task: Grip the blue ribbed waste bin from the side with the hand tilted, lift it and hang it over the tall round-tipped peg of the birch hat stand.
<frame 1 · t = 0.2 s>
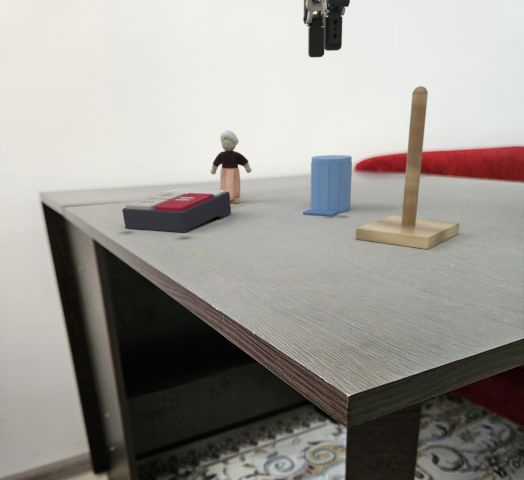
hand: (323, 53, 72), 23 cm above the table, tool pointing down, fingers open, 8 cm apart
hat stand: (407, 236, 70), on the table
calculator: (180, 222, 84), on the table
grandmother figurine: (232, 203, 100), on the table
blue ribbed waste bin: (330, 209, 90), on the table
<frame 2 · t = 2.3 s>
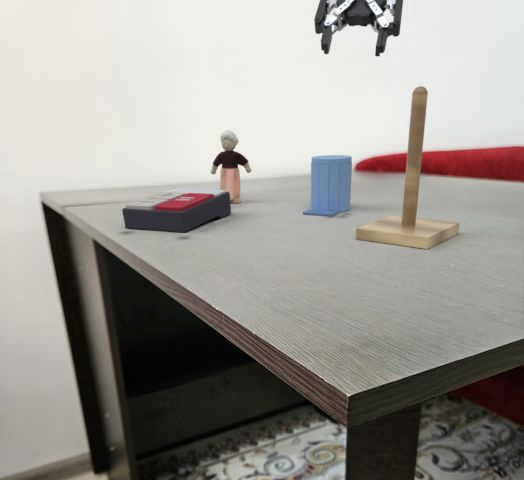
hand: (351, 51, 86), 24 cm above the table, tool tilted 40°, fingers open, 8 cm apart
nothing on the table moved.
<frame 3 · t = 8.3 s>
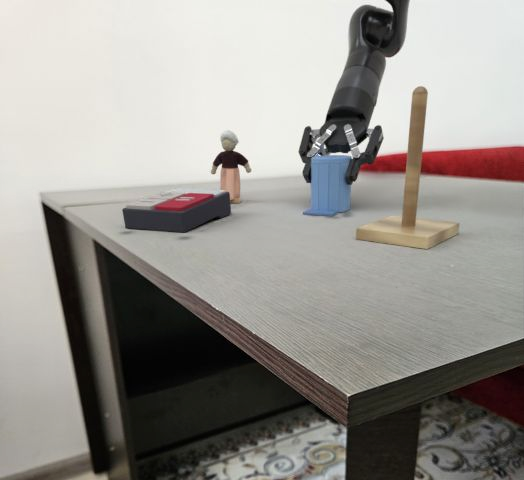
hand: (327, 180, 87), 5 cm above the table, tool tilted 45°, fingers closed on blue ribbed waste bin, 6 cm apart
blue ribbed waste bin: (330, 209, 90), on the table, touching gripper
everything else where it was.
when the fingers open (16 cm above the table, at t = 22.2 s): blue ribbed waste bin stays where it is, resting on hat stand.
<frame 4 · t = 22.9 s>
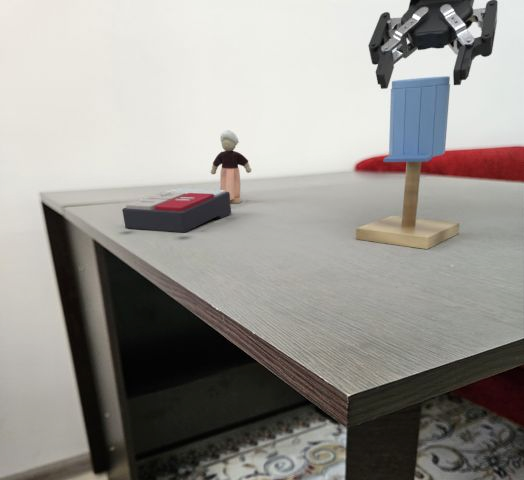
hand: (418, 81, 61), 18 cm above the table, tool tilted 45°, fingers open, 8 cm apart
blue ribbed waste bin: (416, 154, 66), point 10 cm above the table, touching hat stand
everything else where it was.
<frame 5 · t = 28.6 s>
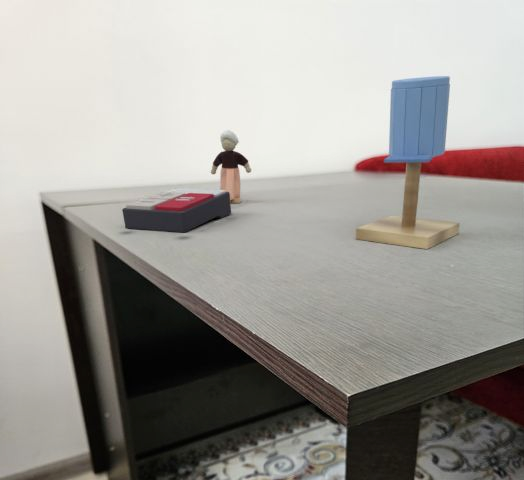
nothing on the table moved.
at the end: blue ribbed waste bin 0.5 cm off-centre on the hat stand, point 10.3 cm above the hat stand's base; blue ribbed waste bin tilted 4°; the gripper is holding nothing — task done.
